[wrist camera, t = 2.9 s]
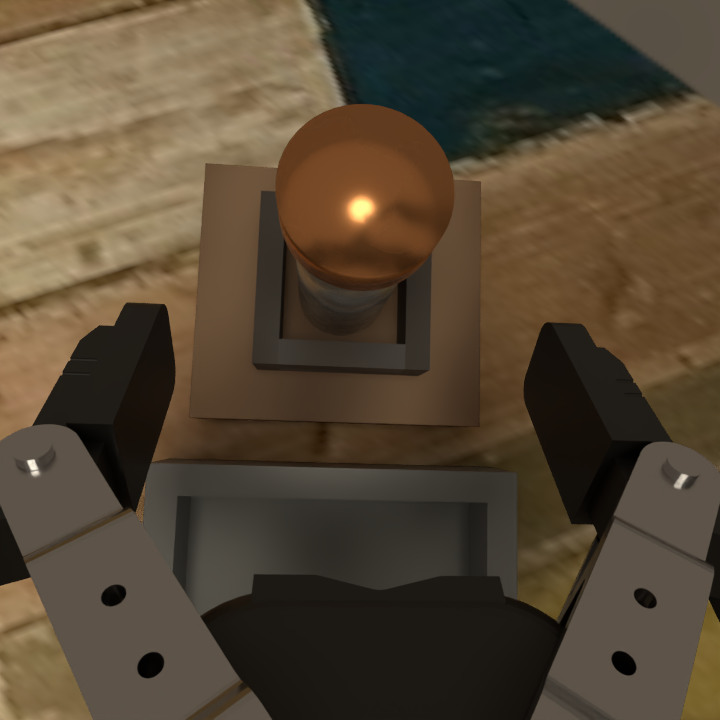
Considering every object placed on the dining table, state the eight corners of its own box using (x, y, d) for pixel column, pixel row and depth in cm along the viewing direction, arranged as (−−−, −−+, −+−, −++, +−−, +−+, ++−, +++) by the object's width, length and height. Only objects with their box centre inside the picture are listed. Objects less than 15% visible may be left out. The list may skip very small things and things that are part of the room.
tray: (490, 467, 23) (516, 472, 20) (488, 807, 21) (517, 868, 18) (169, 458, 22) (147, 463, 19) (145, 814, 20) (116, 879, 17)
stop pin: (393, 247, 21) (455, 111, 12) (390, 346, 21) (453, 281, 12) (292, 241, 21) (279, 97, 12) (288, 342, 21) (271, 272, 11)
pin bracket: (466, 202, 24) (497, 156, 20) (464, 427, 23) (496, 426, 19) (214, 186, 23) (195, 135, 19) (199, 418, 22) (175, 415, 18)
